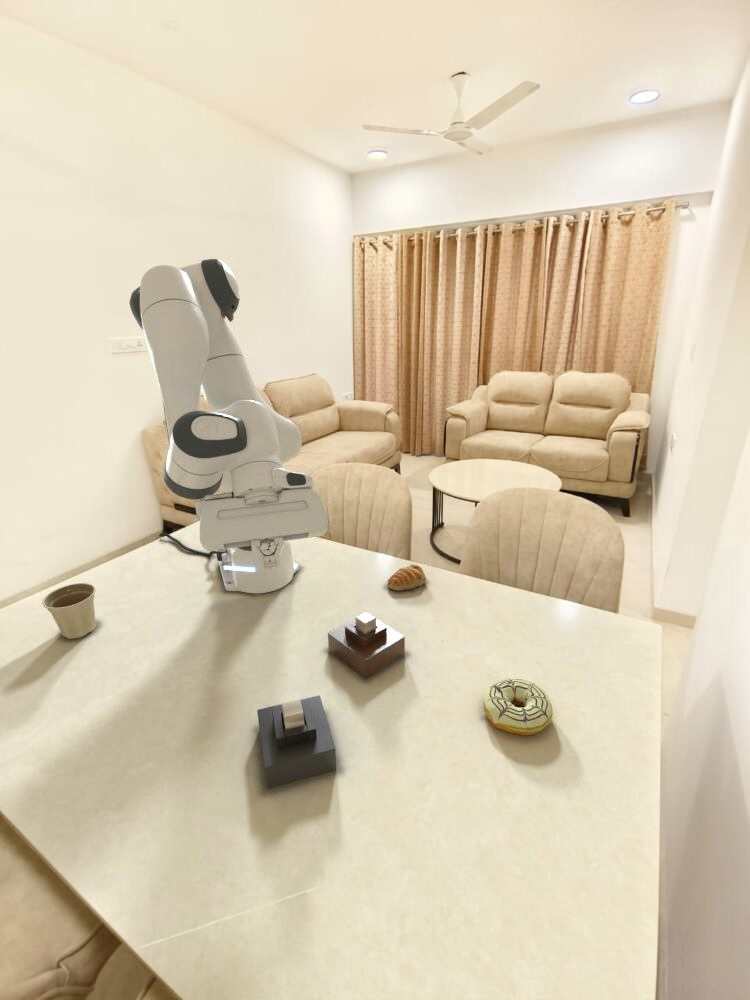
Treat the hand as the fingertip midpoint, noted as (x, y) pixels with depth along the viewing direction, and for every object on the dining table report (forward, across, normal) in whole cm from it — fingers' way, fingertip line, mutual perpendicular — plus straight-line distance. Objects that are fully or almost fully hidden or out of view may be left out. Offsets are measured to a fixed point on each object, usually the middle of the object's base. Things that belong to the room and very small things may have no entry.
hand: (270, 568), depth 79 cm
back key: (+9, +17, +18) cm, 26 cm away
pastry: (-2, +33, +37) cm, 50 cm away
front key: (+23, +1, +4) cm, 23 cm away
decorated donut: (+29, +36, +6) cm, 47 cm away
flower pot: (-4, -39, +39) cm, 55 cm away
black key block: (+26, 0, +8) cm, 28 cm away
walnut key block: (+13, +17, +22) cm, 30 cm away
